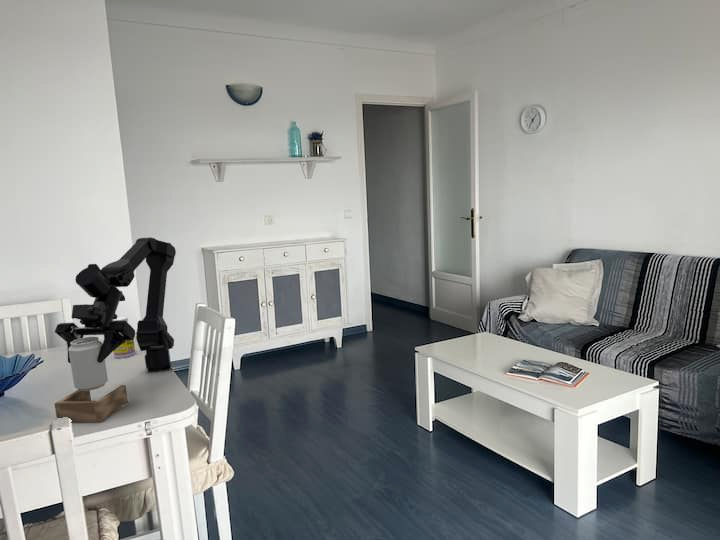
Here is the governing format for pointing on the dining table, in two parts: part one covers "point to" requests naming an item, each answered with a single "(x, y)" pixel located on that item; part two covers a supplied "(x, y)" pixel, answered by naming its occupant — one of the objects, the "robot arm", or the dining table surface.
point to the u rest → (90, 405)
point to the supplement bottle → (124, 345)
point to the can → (87, 364)
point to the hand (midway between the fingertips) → (84, 362)
